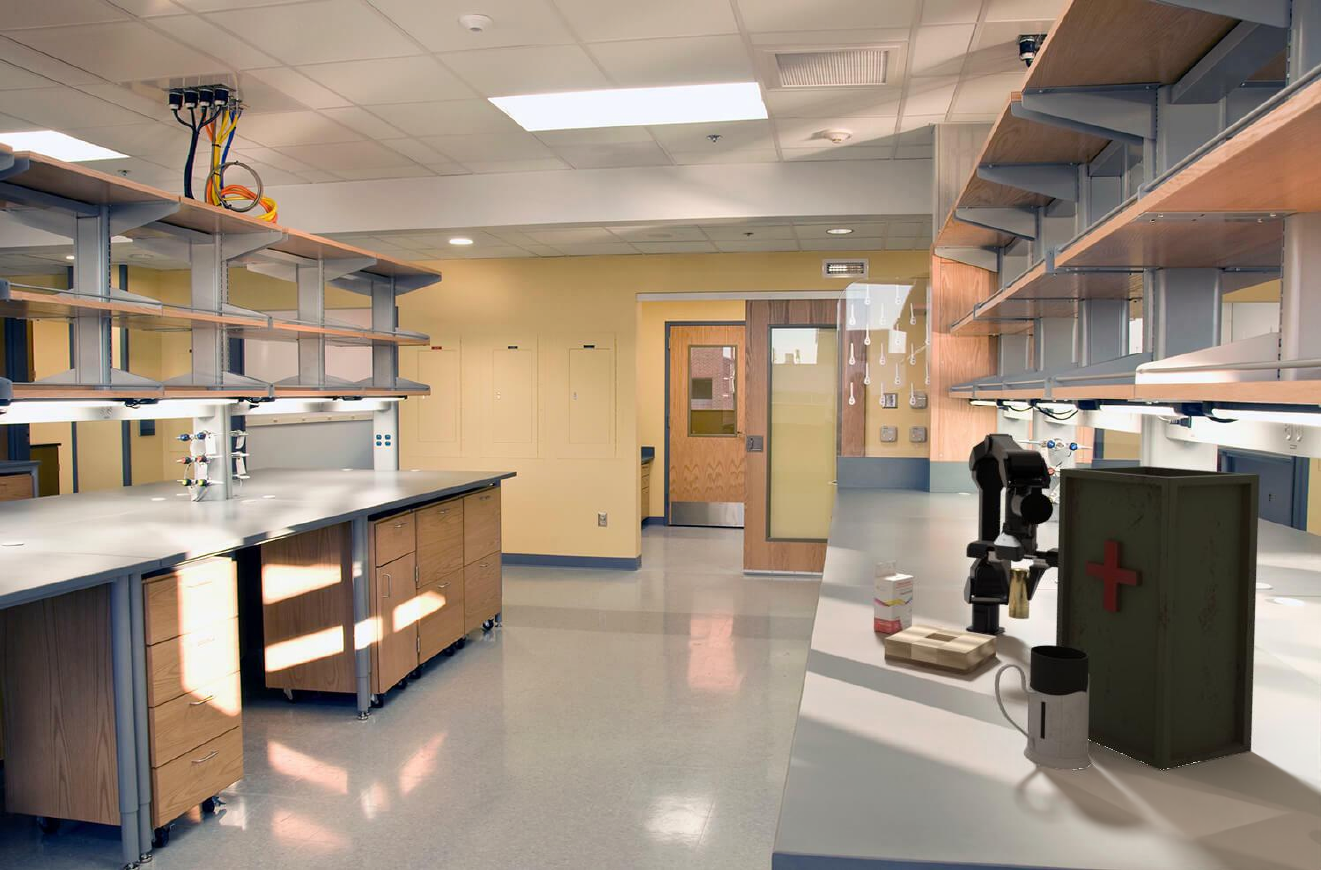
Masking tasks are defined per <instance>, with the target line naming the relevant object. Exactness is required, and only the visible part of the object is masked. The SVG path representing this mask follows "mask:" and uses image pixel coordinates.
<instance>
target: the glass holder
mask: <svg viewBox="0 0 1321 870" xmlns="http://www.w3.org/2000/svg"><path fill="white" fill-rule="evenodd" d="M1029 665H1030V666H1029V667H1030V670H1029V683H1028V690H1027V683H1026V682H1027V680H1026V679H1027V678H1026V675H1025V671H1024V670H1023V669H1022V668H1021V667H1020V666H1019V665H1018V664H1015V663H1011V662H1010V663H1006V664H1004V665H1002V666H1001V667H1000V668H998V670H997V672H996V673H995V679H994V692H995V698H996V702H997V705H998V706H999V709H1000V712H1001V713H1002V715H1003V717H1004V718H1005V719H1006V720H1007V721H1008V722H1009V723H1010V724H1011V725H1012V726H1013V727H1014V728H1016V729H1017V730H1018V731H1019V732H1020V733H1022V735H1023V736H1025V737H1026V739H1027V742H1026V747H1025V748H1024V750H1023V756H1024V757H1025V758H1026V759H1028V760H1029V761H1031V762H1032V761H1033V762H1032V763H1034V762H1035V763H1034V764H1037V763H1038V764H1037V765H1039V764H1040V766H1042V765H1043V767H1046V768H1050V769H1055V768H1059V769H1058V770H1062V769H1079V768H1085V769H1087V768H1089V767H1090V766H1091V765H1092V759H1091V757H1090V755H1089V740H1088V725H1089V682H1090V679H1089V673H1088V665H1089V655H1088V654H1087V653H1086V652H1084V651H1081V650H1078V649H1074V648H1070V647H1064V646H1056V645H1053V644H1052V645H1048V644H1045V645H1037V646H1036V645H1035V646H1033V647H1031V648H1030V663H1029ZM1012 667H1013V668H1015V669H1017V671H1018V672H1019V674H1020V680H1021V681H1020V682H1021V685H1020V686H1021V689H1022V691H1023V692H1024V693H1026V694H1028V700H1027V701H1028V702H1027V703H1028V704H1027V732H1026V731H1025V730H1024V729H1022V727H1020V726H1019V725H1017V723H1016V722H1015V721H1013V719H1011V717H1010V716H1009V715H1008V713H1007V711H1006V709H1005V707H1004V705H1003V702H1002V698H1001V695H1000V694H1001V692H1000V679H1001V676H1002V673H1003V672H1004V671H1005V670H1007V669H1008V668H1012ZM1090 764H1091V765H1090ZM1089 765H1090V766H1089ZM1088 766H1089V767H1088ZM1086 767H1087V768H1086Z"/></svg>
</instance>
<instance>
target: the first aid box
mask: <svg viewBox="0 0 1321 870" xmlns="http://www.w3.org/2000/svg"><path fill="white" fill-rule="evenodd" d="M1058 489H1059V492H1058V493H1059V497H1058V498H1059V499H1058V537H1057V538H1058V541H1057V545H1058V546H1057V548H1058V568H1057V587H1056V588H1057V592H1056V627H1055V628H1056V629H1055V630H1056V633H1055V634H1056V637H1055V646H1064V647H1070V648H1074V649H1078V650H1081V651H1084V652H1086V653H1087V654H1088V655H1089V665H1088V673H1089V679H1090V682H1089V725H1088V739H1089V740H1091V741H1093V742H1092V743H1094V742H1095V743H1094V744H1096V743H1098V744H1100V745H1099V746H1101V745H1102V746H1101V747H1103V746H1106V747H1108V748H1111V749H1113V750H1115V751H1117V752H1116V753H1118V752H1119V753H1118V754H1120V753H1123V754H1125V755H1127V756H1129V757H1128V758H1130V757H1131V758H1130V759H1132V758H1133V759H1132V760H1134V759H1135V761H1137V762H1139V761H1142V762H1144V763H1145V765H1146V764H1148V765H1147V766H1149V765H1150V766H1149V767H1151V766H1152V768H1154V769H1156V768H1158V769H1157V770H1159V769H1161V770H1163V769H1167V768H1172V769H1175V768H1174V767H1176V768H1179V767H1178V766H1181V767H1183V766H1182V765H1185V766H1187V765H1186V764H1190V765H1192V764H1191V763H1193V762H1198V761H1203V762H1206V760H1208V761H1211V760H1210V759H1212V760H1216V759H1215V758H1217V759H1221V758H1225V757H1224V756H1226V757H1230V756H1234V755H1233V754H1235V755H1238V753H1240V754H1243V753H1247V751H1249V752H1252V737H1253V736H1252V733H1253V732H1252V731H1253V701H1254V671H1255V670H1254V665H1255V664H1254V663H1255V633H1256V632H1255V631H1256V630H1255V629H1256V601H1257V599H1256V598H1257V568H1258V567H1257V566H1258V565H1257V563H1258V561H1257V560H1258V559H1257V558H1258V534H1259V533H1258V532H1259V531H1258V527H1259V504H1260V503H1259V502H1260V501H1259V498H1260V497H1259V496H1260V492H1259V491H1260V474H1255V473H1241V472H1231V471H1230V472H1229V471H1228V472H1227V471H1217V470H1203V469H1190V468H1189V469H1188V468H1176V467H1175V468H1174V467H1163V466H1148V465H1143V466H1141V465H1140V466H1139V465H1137V466H1136V465H1135V466H1134V465H1133V466H1105V467H1104V466H1103V467H1102V466H1101V467H1099V466H1098V467H1077V468H1075V467H1073V468H1071V467H1070V468H1059V488H1058ZM1089 740H1088V741H1089ZM1091 741H1090V742H1091ZM1098 744H1097V745H1098ZM1106 747H1105V748H1106ZM1108 748H1107V749H1108ZM1113 750H1112V751H1113ZM1115 751H1114V752H1115ZM1125 755H1124V756H1125ZM1127 756H1126V757H1127ZM1220 757H1221V758H1220ZM1142 762H1141V763H1142ZM1144 763H1143V764H1144ZM1161 770H1160V771H1161ZM1167 770H1168V769H1167ZM1163 771H1164V770H1163Z"/></svg>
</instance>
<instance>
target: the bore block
mask: <svg viewBox="0 0 1321 870" xmlns="http://www.w3.org/2000/svg"><path fill="white" fill-rule="evenodd" d="M996 657H997V636H996V635H991V634H985V633H979V632H973V631H967V630H962V629H955V628H954V629H953V628H948V627H942V626H936V625H930V624H924V623H917V624H914V625H912V627H910V628H908V629H905V630H903V631H900V632H896V633H893V634H891V635H890V636H887V637H885V638H884V659H885V660H889V661H894V662H899V663H904V664H909V665H913V666H917V667H918V666H919V667H924V668H929V669H935V670H939V671H944V672H948V673H949V672H950V673H953V674H959V675H965V676H966V675H968V674H969V673H971V672H972V671H975V670H976V669H977V668H980V667H981V666H982V665H984V664H986V663H988V662H989V661H991V660H992V659H994V658H996Z"/></svg>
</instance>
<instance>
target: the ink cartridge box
mask: <svg viewBox="0 0 1321 870" xmlns="http://www.w3.org/2000/svg"><path fill="white" fill-rule="evenodd" d="M886 567H887V568H888V569H887V568H886ZM885 568H886V569H885ZM896 568H897V560H895V559H894V560H890V561H885V562H880V563H877V564H876V568H875V576H874V595H873V596H874V598H873V599H874V600H873V601H874V602H873V603H874V604H873V630H874V631H878V632H882V633H887V634H889V635H890V634H891V635H894V634H896V633H898V632H901V631H903V630H905V629H908V628H910V627H912V626H913V599H914V596H913V595H914V576H913V575H909V574H903V573H896Z"/></svg>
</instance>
